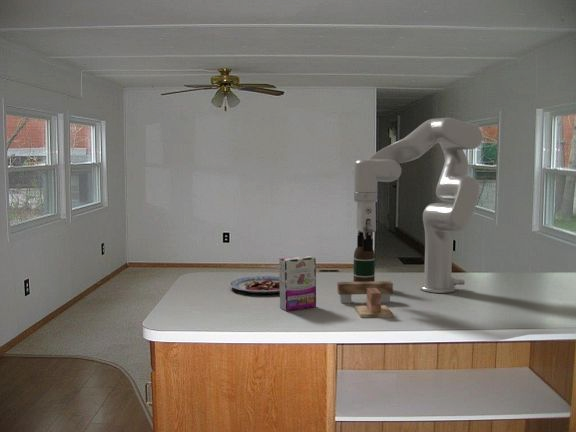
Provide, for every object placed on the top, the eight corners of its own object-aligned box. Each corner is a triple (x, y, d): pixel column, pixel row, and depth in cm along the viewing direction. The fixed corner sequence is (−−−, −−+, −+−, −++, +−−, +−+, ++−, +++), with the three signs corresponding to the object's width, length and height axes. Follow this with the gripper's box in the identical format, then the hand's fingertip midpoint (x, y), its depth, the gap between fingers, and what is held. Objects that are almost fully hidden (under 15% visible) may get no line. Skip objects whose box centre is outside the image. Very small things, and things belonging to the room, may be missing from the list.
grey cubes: (388, 300, 196) (388, 291, 195) (389, 302, 193) (390, 293, 193) (339, 301, 195) (339, 292, 194) (340, 303, 192) (340, 294, 192)
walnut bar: (390, 291, 196) (390, 281, 196) (392, 293, 192) (392, 283, 192) (337, 292, 195) (337, 282, 195) (338, 294, 191) (339, 284, 191)
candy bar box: (309, 304, 191) (309, 254, 190) (316, 307, 187) (316, 257, 185) (278, 308, 186) (278, 257, 185) (285, 311, 182) (285, 260, 180)
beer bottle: (373, 285, 220) (374, 222, 217) (374, 289, 212) (375, 224, 209) (353, 284, 220) (353, 222, 218) (353, 289, 213) (354, 224, 210)
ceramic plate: (313, 290, 211) (313, 282, 211) (252, 300, 197) (252, 292, 197) (274, 278, 233) (274, 271, 232) (217, 287, 218) (217, 279, 218)
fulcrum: (385, 308, 185) (385, 286, 185) (393, 316, 175) (393, 294, 175) (354, 309, 185) (354, 287, 184) (360, 317, 175) (360, 294, 174)
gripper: (382, 199, 182) (381, 253, 184) (371, 195, 199) (370, 245, 201) (359, 199, 182) (358, 253, 183) (349, 195, 199) (349, 245, 201)
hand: (364, 248), depth 192 cm, fingers open, 9 cm apart
